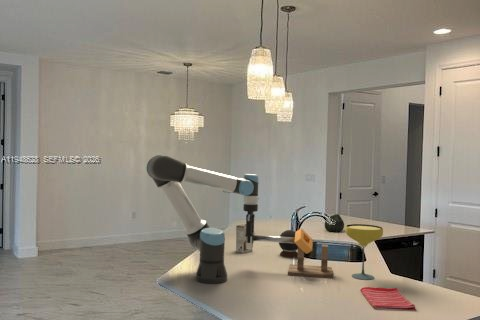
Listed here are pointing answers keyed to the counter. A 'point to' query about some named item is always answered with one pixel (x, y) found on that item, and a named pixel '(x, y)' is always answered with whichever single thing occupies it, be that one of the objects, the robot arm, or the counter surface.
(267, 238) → the shaft
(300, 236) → the collar
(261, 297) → the counter surface
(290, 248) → the black stacked round piece
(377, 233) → the cocktail glass
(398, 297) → the dish towel
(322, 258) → the stand
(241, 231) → the coffee box
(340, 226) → the squash
